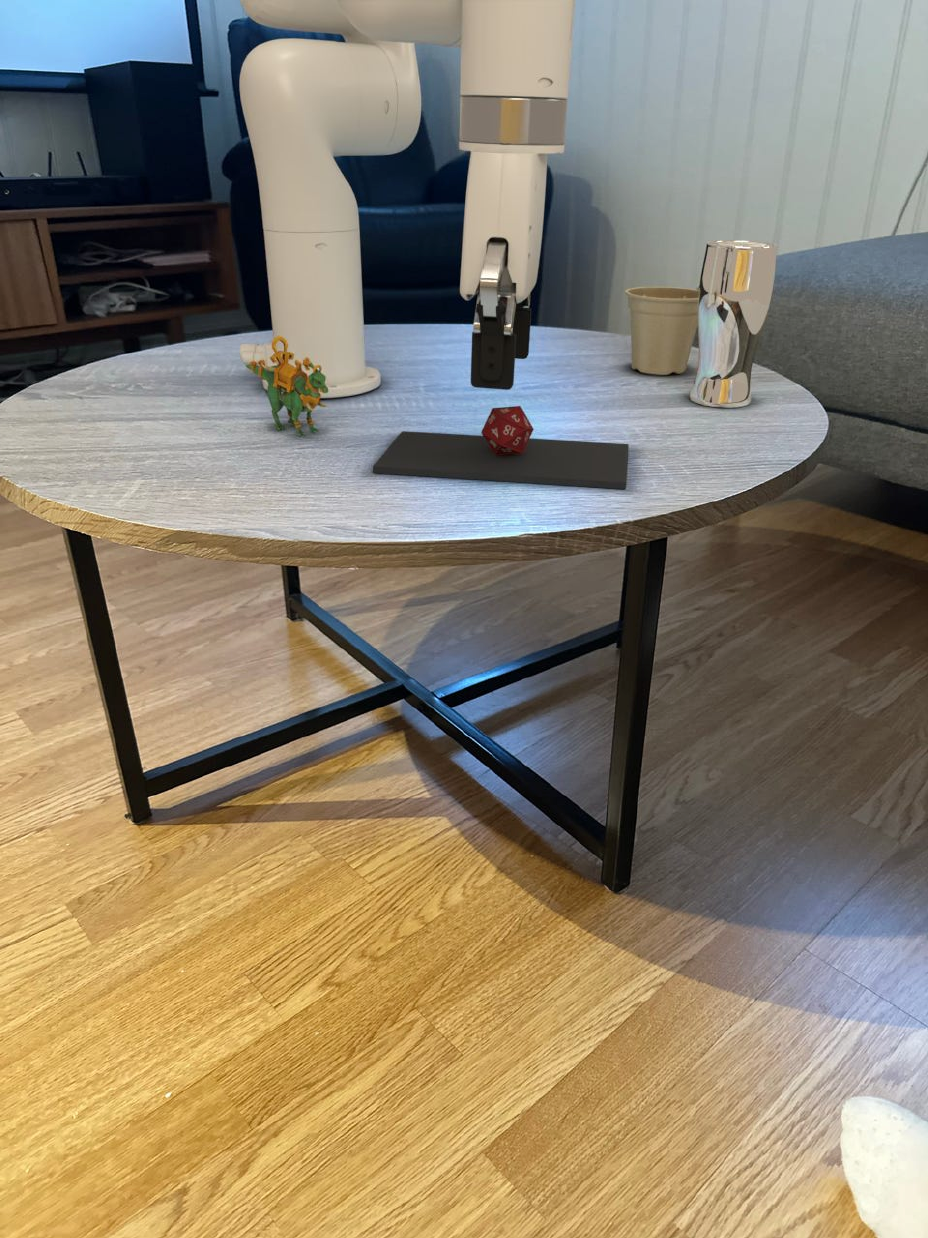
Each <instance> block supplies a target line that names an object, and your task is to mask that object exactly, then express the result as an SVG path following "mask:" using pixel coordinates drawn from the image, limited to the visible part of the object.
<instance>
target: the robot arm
mask: <svg viewBox="0 0 928 1238" xmlns="http://www.w3.org/2000/svg"><path fill="white" fill-rule="evenodd" d="M239 1H240V4H241V7H242V9H243V10H244V12H245V13H246V14H247V16H248V17H249V18H250V19H251V20H252V21H254V22H255V23H256V24H259V25H262V26H265V27H267V28H272V29H278V30H285V31H294V32H295V31H296V32H306V33H320V34H331V35H332V34H333V35H340V36H342V37H343V39H344V42H343V41H336V40H326V39H325V40H323V39H312V38H311V39H310V38H295V37H293V38H277V39H272V40H268V41H265V42H263V43H260V44H259V45H257V46H256V47H254V48H252V50H251V51H250V52H249V53H248V54H247V55H246V57H245V59H244V61H243V62H242V66H241V69H240V73H239V86H238V87H239V96H240V104H241V108H242V113H243V118H244V122H245V125H246V130H247V133H248V137H249V141H250V145H251V149H252V155H253V159H254V165H255V170H256V177H257V184H258V190H259V201H260V210H261V220H262V229H263V241H264V250H265V260H266V261H265V262H266V273H267V282H268V294H269V305H270V306H269V307H270V315H271V328H272V337H273V338H272V340H271V341H269V342H268V343H266V344H260V343H248V342H247V343H245V342H244V343H241V344H240V346H239V357H240V360H241V362H242V364H244V365H248V364H250V361H256V363H257V365H259V364H258V361H260V360H264V361H265V366H268V367H270V366H275V365H277V362H278V361H277V362H276V363H273V362H272V361H271V359H270V357H271V356H272V355H273V354H275V352H274V350H273V349H272V341H273V339H274V338H275V337H277V336H281V337H283V338H285V340H286V341H287V343H288V348H287V352H291V353H293V354H294V357H293V360H290V359H289V362H288V363H289V364H290V365H292V366H294V367H295V368H296V365H295V360H298V361H299V362H300V363H302V364H301V366H302V371H304V372H305V373H306V374H307V376H309V375H310V374H312V373H313V369H312V368H311V367H309V366H308V368H310V370H306V369H305V366H304V365H303V359H305V357H308V358H309V361H310V362H312V364H313V365H314V366H316V365H320V366H321V368H322V370H321V373H322V374H323V375H325V376H326V379H325V384H326V386H327V388H328V393H322V392H320V389H319V393H321V398H320V399H334V398H335V399H336V398H344V397H351V396H356V395H362V394H365V393H368V392H371V391H373V390H375V389H377V388H378V387H380V385H381V379H382V378H381V373H380V371H379V370H378V369H376V368H374V367H371V366H368V365H366V347H365V346H366V345H365V321H364V300H363V280H362V279H363V278H362V255H361V254H362V253H361V236H360V235H361V234H360V233H361V231H360V215H359V208H358V203H357V199H356V197H355V193H354V192H353V190H352V187H351V186H350V184H349V182H348V181H347V178H346V176H344V173H342V170H341V168H340V167H339V166H338V164H337V162H336V160H335V157H341V156H342V157H343V156H344V157H345V156H349V157H350V156H386V155H387V156H389V155H394V154H398V153H401V152H403V151H405V150H406V149H407V148H408V147H409V146H410V145H411V144H413V141H414V140H415V138H416V136H417V135H418V132H419V127H420V123H421V117H422V90H421V82H420V74H419V67H418V60H417V53H416V47H415V44H416V45H417V44H418V45H431V46H432V45H433V46H441V47H447V48H459V49H460V86H459V87H460V88H459V90H460V91H459V95H460V98H459V138H458V139H459V141H458V150H461V151H465V152H470V155H469V162H468V170H467V180H466V188H465V189H466V190H465V200H464V202H465V203H464V215H463V229H462V231H463V232H462V246H461V247H462V248H461V249H462V250H461V265H460V266H461V267H460V279H459V280H460V281H459V282H460V283H459V294H460V296H461V297H462V299H464V300H465V301H471V300H472V299H473V298H474V297H475V296H476V295H477V298H476V305H475V310H474V319H473V328H472V332H471V351H470V352H471V353H470V354H471V355H470V357H471V358H470V385H471V387H473V388H478V389H490V390H491V389H492V390H504V391H509V390H511V389H512V388H513V386H514V383H515V369H516V368H515V364H516V360H517V359H518V360H526V359H528V356H529V353H530V337H531V324H532V323H531V322H532V308H530V305H531V292H532V291H533V290H534V288H535V286H536V284H537V279H538V274H539V267H540V259H541V258H540V257H541V250H542V240H543V230H544V217H545V202H546V191H547V190H546V187H547V171H548V155H555V154H564V153H565V147H566V146H565V143H566V132H567V117H568V105H569V100H568V99H569V92H570V80H571V79H570V77H571V64H572V52H573V51H572V50H573V37H574V36H573V35H574V23H575V22H574V21H575V8H576V7H575V6H576V0H239ZM276 349H277V352H278V351H284V344H283V343H282V342H281V341H278V342H277V343H276ZM282 355H283V354H281V357H282ZM275 359H276V358H275ZM276 360H277V359H276ZM251 365H252V364H251ZM317 370H318V371H319V367H318V368H317ZM261 380H262V381H261V382H262V387H263V389H264V390H266V391H267V389H268V383H267V381H266V380H263V379H262V378H261Z"/></svg>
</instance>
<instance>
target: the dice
mask: <svg viewBox="0 0 928 1238" xmlns="http://www.w3.org/2000/svg"><path fill="white" fill-rule="evenodd" d="M533 432H534V427H533V425H532V424H531V422H530V421H529V418H528V417H527V415H526V414H525V411H524V410H523V408H522V406H521V405H514V406H502V407H501V406H500V407H492V408H491V410H490V412H489V415H488V417H487V418H486V421H485V423H484V425H483V427H482V429H481V432H480V433H481V434H482V435H481V436H484V438H485V440H486V441H487V443H488V444H489V446H490V448H491V449H492V451H493V453H494V454H495V455H506V454H522V453H523V451H524V449H525V447H526V445H527V443H528V441H529V438H531V436H532V434H533Z"/></svg>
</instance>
